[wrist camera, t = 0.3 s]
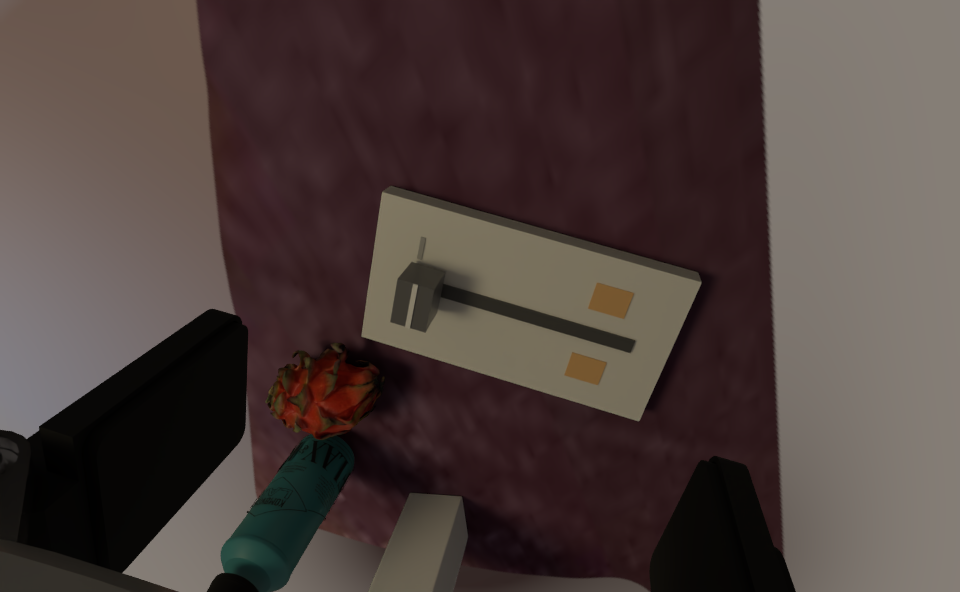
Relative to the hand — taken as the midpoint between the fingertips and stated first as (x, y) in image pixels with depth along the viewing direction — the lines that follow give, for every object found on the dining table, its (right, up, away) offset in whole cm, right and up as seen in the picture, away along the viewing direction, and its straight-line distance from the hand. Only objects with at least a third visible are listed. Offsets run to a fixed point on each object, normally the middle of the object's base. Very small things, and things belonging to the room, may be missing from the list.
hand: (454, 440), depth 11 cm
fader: (-4, +4, +37) cm, 37 cm away
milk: (-4, -21, +51) cm, 56 cm away
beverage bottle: (-15, -13, +50) cm, 54 cm away
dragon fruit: (-13, -4, +46) cm, 48 cm away
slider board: (+4, +2, +38) cm, 39 cm away
